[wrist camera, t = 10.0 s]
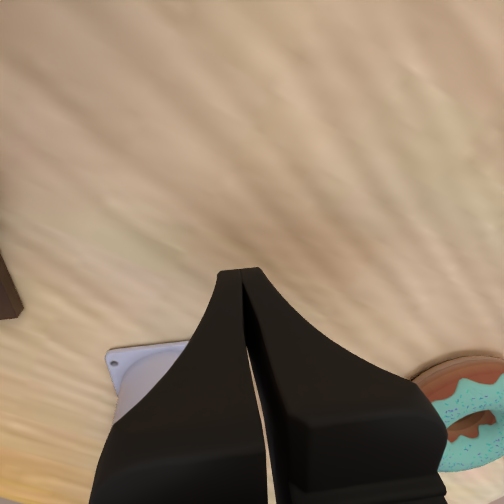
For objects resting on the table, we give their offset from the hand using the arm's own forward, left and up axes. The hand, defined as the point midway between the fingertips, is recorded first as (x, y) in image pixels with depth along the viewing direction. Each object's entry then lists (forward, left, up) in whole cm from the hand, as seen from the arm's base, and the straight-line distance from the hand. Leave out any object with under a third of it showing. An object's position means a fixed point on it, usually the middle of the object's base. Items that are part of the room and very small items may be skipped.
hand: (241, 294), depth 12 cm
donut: (-21, -18, -11) cm, 30 cm away
